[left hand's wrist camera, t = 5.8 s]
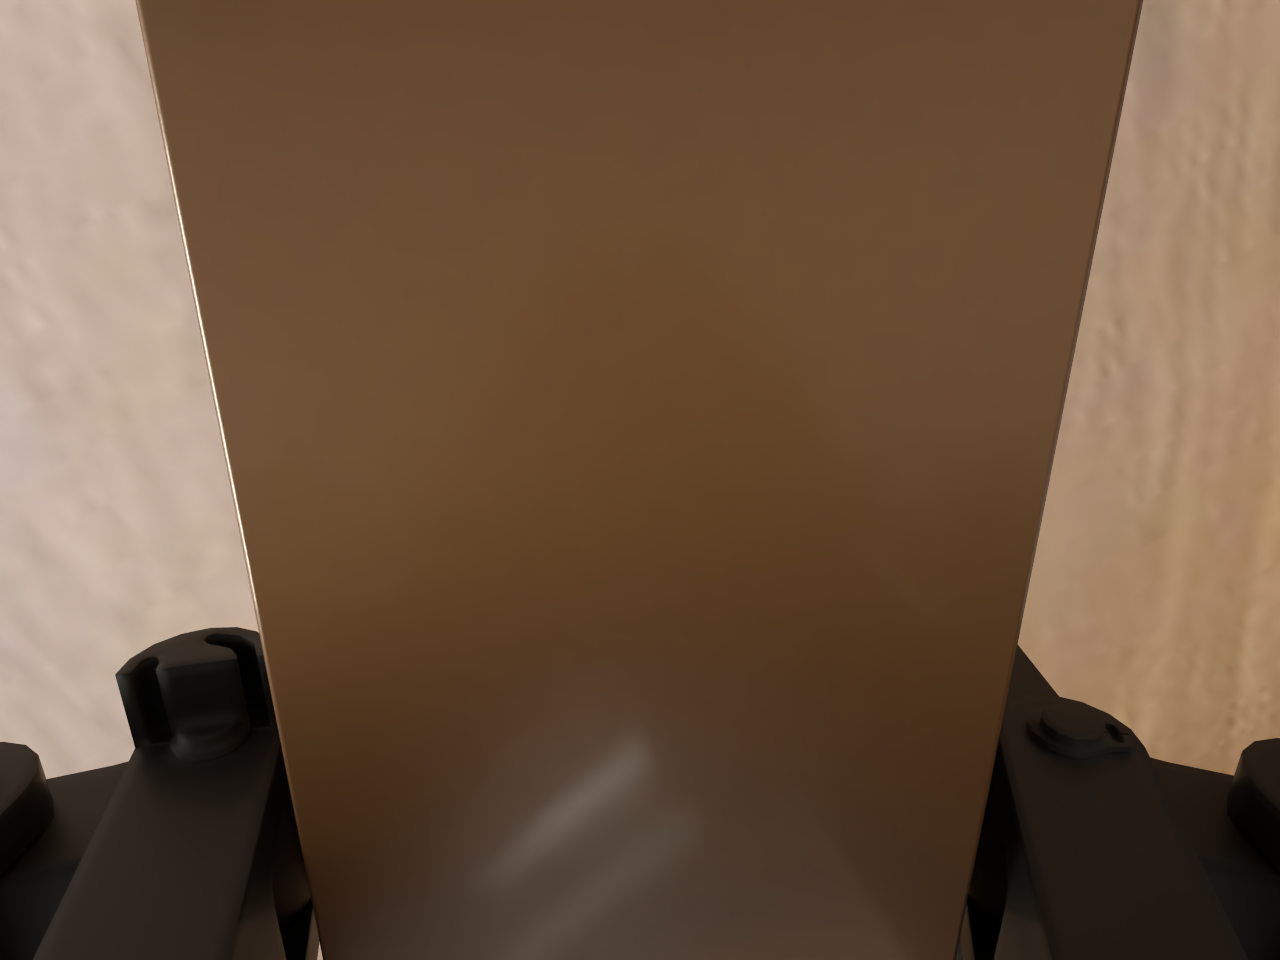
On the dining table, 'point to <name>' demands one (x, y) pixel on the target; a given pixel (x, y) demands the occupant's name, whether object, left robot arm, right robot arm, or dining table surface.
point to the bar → (639, 443)
